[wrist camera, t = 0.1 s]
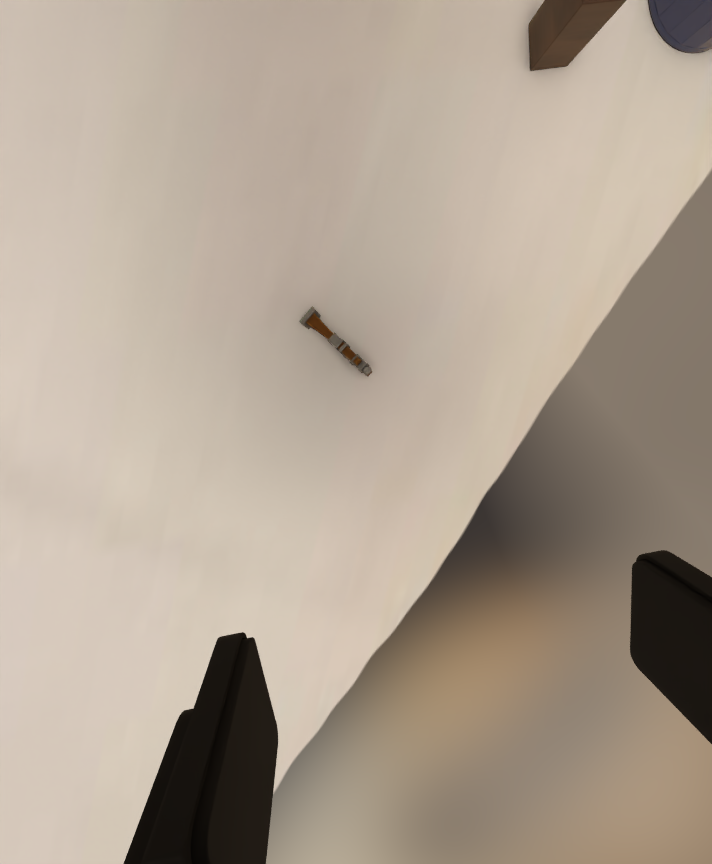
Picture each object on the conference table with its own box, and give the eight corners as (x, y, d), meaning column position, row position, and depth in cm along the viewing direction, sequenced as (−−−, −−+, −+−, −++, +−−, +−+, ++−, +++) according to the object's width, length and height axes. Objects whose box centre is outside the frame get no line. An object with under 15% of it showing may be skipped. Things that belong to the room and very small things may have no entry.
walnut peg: (528, 24, 33) (582, -58, 26) (566, 19, 33) (629, -63, 27) (530, 71, 34) (582, 4, 27) (567, 66, 34) (628, -2, 27)
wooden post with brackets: (370, 386, 38) (360, 378, 34) (314, 335, 40) (298, 320, 35) (382, 373, 38) (375, 362, 34) (326, 321, 39) (311, 305, 35)
